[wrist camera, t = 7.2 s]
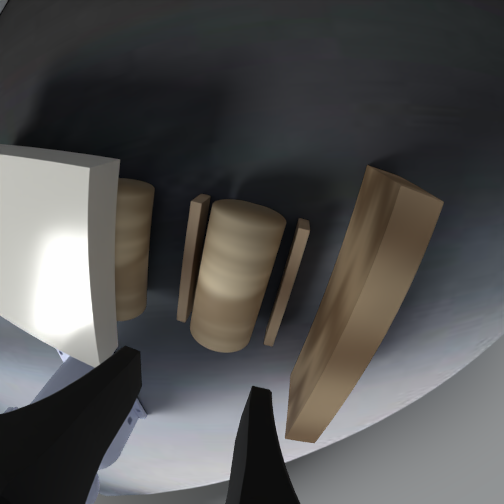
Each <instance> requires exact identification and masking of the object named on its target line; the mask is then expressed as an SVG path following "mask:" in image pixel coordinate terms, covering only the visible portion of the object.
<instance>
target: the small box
mask: <svg viewBox="0 0 504 504" xmlns="http://www.w3.org/2000/svg"><path fill="white" fill-rule="evenodd" d="M7 2H8V0H0V13H1V11H2V10H3V8H4V6H5V5H6V3H7Z"/></svg>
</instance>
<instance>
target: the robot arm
mask: <svg viewBox="0 0 504 504" xmlns="http://www.w3.org/2000/svg"><path fill="white" fill-rule="evenodd" d="M57 351H58V353H59V355H60V357H61V359H62V360H63V362H64V363H63V364H62V365H61V366H60V368H59V369H58V370H57V371H56V373H55V374H54V375H53V376H52V377H51V379H50V380H49V381H48V382H47V384H46V385H45V386H44V387H43V388H42V390H41V391H40V392H39V394H38V395H37V396H36V397H35V399H34V400H33V401H32V402H31V404H30V405H27V406H25V407H22V408H19V409H18V408H17V407H15V408H13V407H9V408H8V409H7V410H6V411H5V412H4V413H3V414H0V504H94V502H95V500H96V498H97V495H98V492H99V488H100V482H99V477H98V474H97V471H98V470H100V469H104V468H106V467H108V466H110V465H112V464H113V463H114V462H115V461H116V460H117V459H118V457H119V456H120V454H121V452H122V450H123V448H124V446H125V444H126V442H127V440H128V438H129V436H130V434H131V432H132V430H133V428H134V426H135V424H136V422H137V420H138V418H141V419H146V417H147V414H146V413H145V411H144V409H143V407H142V406H141V404H140V402H139V400H138V399H137V396H138V394H139V392H140V389H141V387H142V380H141V359H140V351H138V350H135V349H132V348H130V347H127V346H124V347H122V348H121V349H120V350H118V351H117V352H116V353H113V354H112V355H111V357H109V358H108V359H106V360H105V361H104V362H102V363H101V364H100V365H98V366H97V367H92V366H90V365H88V364H86V363H84V362H82V361H80V360H78V359H76V358H74V357H72V356H70V355H68V354H66V353H64V352H62V351H60V350H58V349H57ZM225 504H300V502H299V500H298V497H297V495H296V493H295V491H294V488H293V486H292V483H291V481H290V478H289V475H288V472H287V469H286V466H285V463H284V459H283V456H282V452H281V449H280V445H279V440H278V436H277V432H276V426H275V421H274V414H273V406H272V392H271V391H270V390H268V389H264V388H260V387H255V386H252V388H251V391H250V394H249V397H248V399H247V402H246V405H245V408H244V411H243V413H242V416H241V420H240V424H239V428H238V432H237V436H236V440H235V446H234V453H233V460H232V467H231V474H230V481H229V488H228V494H227V499H226V503H225Z"/></svg>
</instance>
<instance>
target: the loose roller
mask: <svg viewBox="0 0 504 504" xmlns="http://www.w3.org/2000/svg"><path fill="white" fill-rule="evenodd" d="M285 226H286V220H285V218H284V217H283V216H282V215H281V214H279V213H278V212H276V211H274V210H272V209H270V208H268V207H265V206H261V205H258V204H254V203H250V202H247V201H243V200H235V199H223V200H218V201H215V202H214V203H213V204H212V208H211V213H210V218H209V223H208V228H207V233H206V239H205V244H204V249H203V254H202V260H201V265H200V271H199V276H198V282H197V288H196V293H195V299H194V305H193V311H192V317H191V324H190V331H191V334H192V336H193V337H194V339H195V340H196V341H197V342H198V343H199V344H201V345H202V346H204V347H206V348H208V349H210V350H213V351H217V352H226V353H228V352H235V351H239V350H241V349H243V348H244V347H245V346H247V344H248V343H249V341H250V338H251V335H252V332H253V329H254V326H255V322H256V319H257V316H258V313H259V310H260V307H261V304H262V300H263V297H264V294H265V291H266V288H267V284H268V281H269V278H270V275H271V272H272V268H273V265H274V262H275V259H276V255H277V252H278V249H279V246H280V242H281V239H282V236H283V232H284V229H285Z"/></svg>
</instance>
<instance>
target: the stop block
mask: <svg viewBox="0 0 504 504" xmlns="http://www.w3.org/2000/svg"><path fill="white" fill-rule="evenodd" d="M443 203H444V202H443V201H441V200H440V199H438V198H436V197H435V196H433V195H431V194H430V193H428V192H426V191H425V190H423V189H421V188H420V187H418V186H416V185H414V184H413V183H411V182H409V181H407V180H405V179H404V178H402V177H400V176H398V175H395V174H392V173H389V172H386V171H384V170H381V169H378V168H375V167H372V166H369V165H367V167H366V171H365V174H364V178H363V181H362V184H361V188H360V191H359V194H358V198H357V201H356V204H355V207H354V210H353V214H352V217H351V220H350V223H349V226H348V229H347V232H346V235H345V238H344V241H343V244H342V247H341V249H340V252H339V255H338V258H337V261H336V264H335V266H334V269H333V272H332V275H331V277H330V280H329V283H328V285H327V288H326V291H325V293H324V296H323V299H322V301H321V304H320V306H319V309H318V311H317V314H316V316H315V319H314V321H313V324H312V326H311V329H310V331H309V334H308V336H307V338H306V341H305V343H304V346H303V348H302V350H301V353H300V355H299V357H298V360H297V362H296V364H295V366H294V369H293V371H292V373H291V376H290V389H289V401H288V412H287V423H286V433H285V439H290V440H296V441H303V442H309V443H315V442H316V441H317V439H318V438H319V437H320V435H321V434H322V433H323V431H324V430H325V429H326V427H327V426H328V425H329V423H330V422H331V420H332V419H333V418H334V416H335V415H336V413H337V412H338V410H339V409H340V408H341V406H342V405H343V403H344V402H345V400H346V399H347V397H348V396H349V394H350V393H351V391H352V390H353V388H354V387H355V385H356V383H357V382H358V380H359V379H360V377H361V376H362V374H363V372H364V371H365V369H366V367H367V366H368V364H369V362H370V361H371V359H372V357H373V356H374V354H375V352H376V351H377V349H378V347H379V345H380V343H381V342H382V340H383V338H384V336H385V334H386V333H387V331H388V329H389V327H390V325H391V323H392V321H393V320H394V318H395V316H396V314H397V312H398V310H399V308H400V306H401V304H402V302H403V300H404V298H405V296H406V294H407V291H408V289H409V287H410V285H411V283H412V281H413V279H414V276H415V274H416V272H417V270H418V267H419V265H420V263H421V260H422V258H423V256H424V253H425V251H426V248H427V246H428V244H429V241H430V239H431V236H432V233H433V231H434V228H435V225H436V223H437V220H438V217H439V215H440V212H441V209H442V206H443Z"/></svg>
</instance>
